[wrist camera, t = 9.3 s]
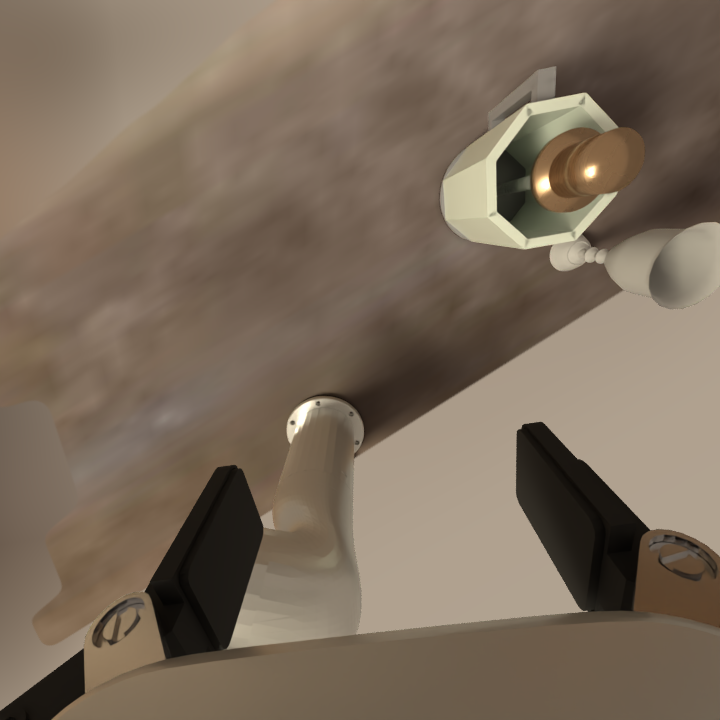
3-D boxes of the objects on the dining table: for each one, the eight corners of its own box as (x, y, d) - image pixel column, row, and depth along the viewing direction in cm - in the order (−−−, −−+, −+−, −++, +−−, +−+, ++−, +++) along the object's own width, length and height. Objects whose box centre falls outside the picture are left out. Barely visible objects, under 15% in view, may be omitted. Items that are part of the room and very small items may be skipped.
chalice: (566, 213, 43) (696, 205, 27) (606, 238, 45) (755, 246, 28) (531, 265, 46) (630, 288, 29) (570, 287, 47) (687, 322, 30)
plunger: (513, 213, 42) (654, 201, 22) (468, 220, 42) (566, 217, 22) (513, 162, 40) (669, 98, 20) (466, 170, 40) (572, 117, 20)
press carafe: (530, 233, 44) (616, 238, 29) (442, 249, 45) (483, 260, 30) (533, 111, 39) (638, 42, 24) (434, 130, 40) (478, 75, 25)
